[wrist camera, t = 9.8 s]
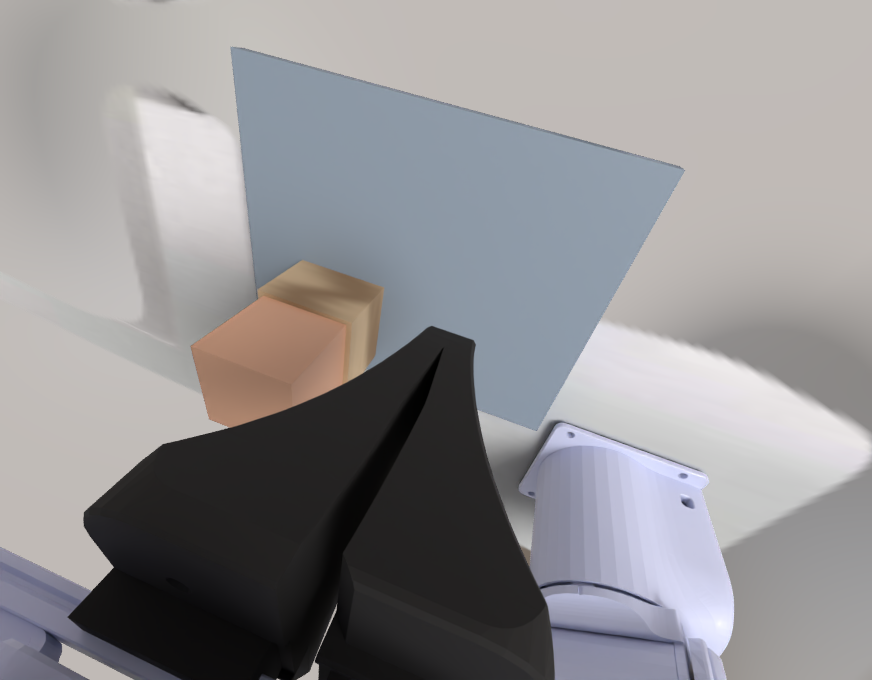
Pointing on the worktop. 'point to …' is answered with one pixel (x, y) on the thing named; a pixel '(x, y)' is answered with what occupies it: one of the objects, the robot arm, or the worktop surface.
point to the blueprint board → (445, 218)
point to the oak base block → (334, 307)
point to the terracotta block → (268, 361)
